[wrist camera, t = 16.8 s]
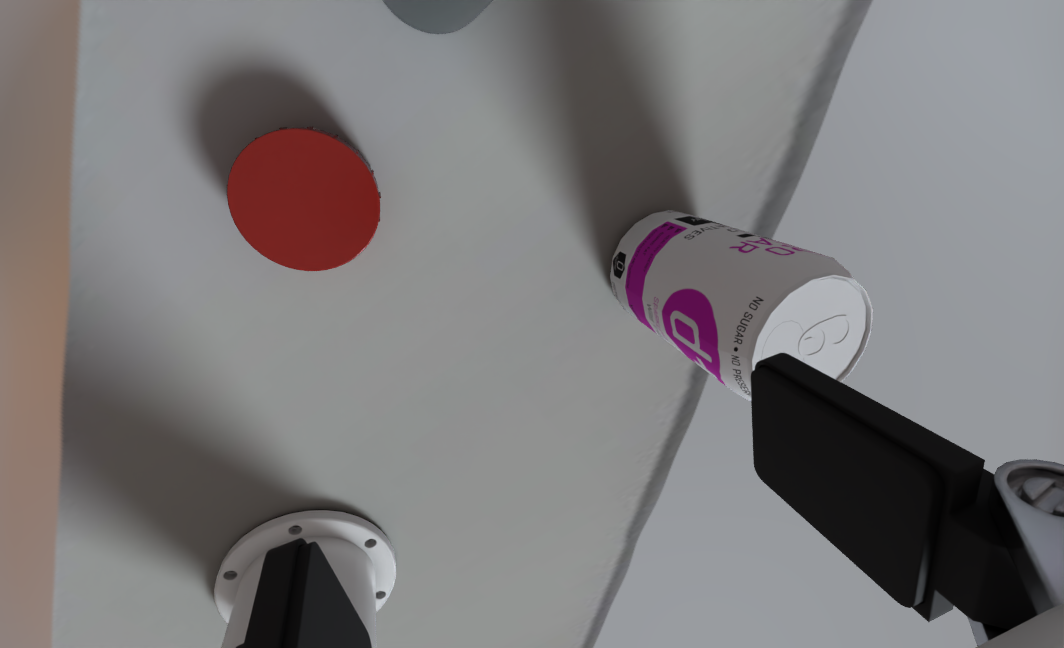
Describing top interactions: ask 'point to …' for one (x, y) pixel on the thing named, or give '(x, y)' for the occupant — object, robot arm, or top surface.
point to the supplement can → (739, 298)
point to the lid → (304, 198)
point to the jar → (437, 13)
